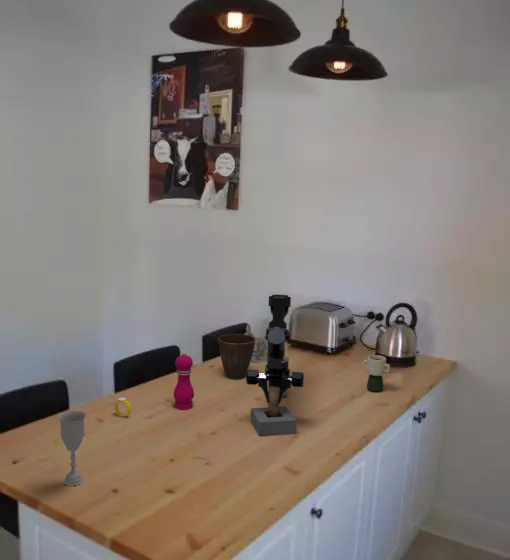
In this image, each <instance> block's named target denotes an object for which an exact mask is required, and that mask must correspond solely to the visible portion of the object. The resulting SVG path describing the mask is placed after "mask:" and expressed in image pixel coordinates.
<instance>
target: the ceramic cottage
mask: <svg viewBox="0 0 510 560" xmlns="http://www.w3.org/2000/svg"><path fill="white" fill-rule="evenodd" d="M245 330H246V332H244V335H249V336H252V337H254V338H255V345H254V350H253V354H252V358H251V361H250V363H257V364H260V362H261V363H264V362H263V361H265V362H267V358H268V340H266V335H265V336H264V337H263V336H255V335H254V334H253V333H252V331H251V329H250V326H249V324H248V325H247V324H246V328H245Z"/></svg>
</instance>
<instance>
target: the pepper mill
mask: <svg viewBox="0 0 510 560" xmlns="http://www.w3.org/2000/svg"><path fill="white" fill-rule="evenodd" d="M174 363H175V367H176V374H177V383H176V386H175V388H174V391H173V395H172V396H173V398H174V408H175V409H177V410H183V411H184V410H190V409H192V408H193V405H194V404H193V403H194V402H193V399H194V397H195V391H194V387H193V386H192V383H191V374H192V367H193V365H194V361H193V359H192V357H191V356H189V355H188V353H187V351H185V350H183V351H182V352H181V355H180V356H178V357H177V358H176V359H175V362H174Z"/></svg>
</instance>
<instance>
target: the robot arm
mask: <svg viewBox="0 0 510 560" xmlns="http://www.w3.org/2000/svg"><path fill="white" fill-rule="evenodd" d="M291 298H292V297H291V296H289V295H288V294H271V295H269V296H268V307H270V309H269V310H270V313H271V315H272V320H271V321H269V322H268V328H265V330H266V331H265V336H266V340H267V341H268V358H267V361H266V364H265V365H264V373H259V371H260V370H258V369H248V370H247V372H246V375H245V380H246V384H247V385H250V386H251V385H255V386H256V385H258V387H259V388H261V390H262V391H263V393H264V394H263V395H264V397H265V399H266V403H267V404H268V396H269V387H270V386H277V387H279V388H280V393H279V404H281V402H282V401H283V399H286V398H287V395H286V392H287V391H288V389H291V388H292V387H295V388H303V387H304V382H305V381H304V378H305V375H304V373H303V372H302V371H299V372H298V371H291V370H290V369H289V363H290V362H289V360H290V359H289V356H285V354H286V352H285V351H286V343H287V341H289V340H290V338H291V333H290V330H289V329H288V328H287V325H288V324H287V322H286V320H285V318H286V317H287V315H288V314H289V310H290V309H289V308H291V306H292V305H291V302H292V300H291ZM290 371H291V373H290Z"/></svg>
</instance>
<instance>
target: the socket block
mask: <svg viewBox="0 0 510 560" xmlns="http://www.w3.org/2000/svg"><path fill="white" fill-rule="evenodd" d="M297 422H298V420H297V419H296V417H295V416H294V415H293V414H292V412H291V411H290V410H289V409H288V407H287V406H286V405H284V406H283V405H282V406H279V417H271V418H268V406H267V407H254V408H253V407H252V408H250V423H251V424H252V426H253V428H254V430H255V431H256V433H257V435H258V436H259V437H266V436H278V435H294V434H297Z"/></svg>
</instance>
